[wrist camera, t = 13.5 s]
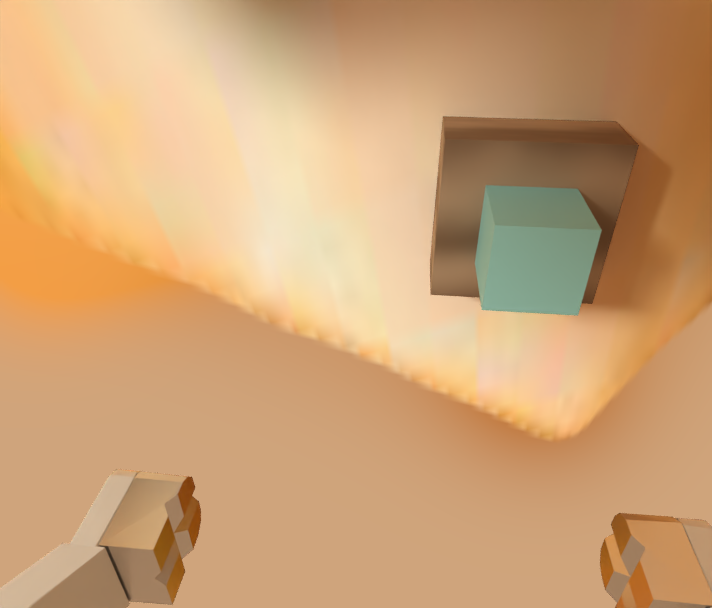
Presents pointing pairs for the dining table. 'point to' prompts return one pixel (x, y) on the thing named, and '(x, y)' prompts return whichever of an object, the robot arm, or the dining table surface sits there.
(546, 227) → the teal cube
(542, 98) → the dining table surface
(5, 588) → the robot arm
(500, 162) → the walnut base
